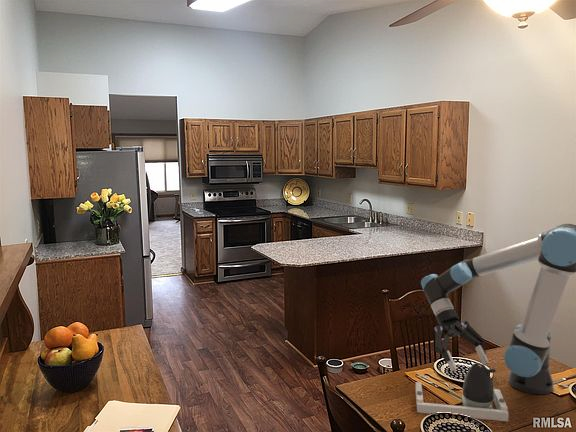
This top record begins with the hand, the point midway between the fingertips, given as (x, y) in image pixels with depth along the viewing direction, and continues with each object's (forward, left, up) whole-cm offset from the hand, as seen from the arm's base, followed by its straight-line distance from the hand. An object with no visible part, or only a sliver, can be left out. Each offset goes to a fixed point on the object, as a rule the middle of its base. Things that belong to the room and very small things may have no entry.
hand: (470, 366), depth 163 cm
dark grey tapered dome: (-2, +3, -13) cm, 13 cm away
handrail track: (+4, +4, -13) cm, 14 cm away
